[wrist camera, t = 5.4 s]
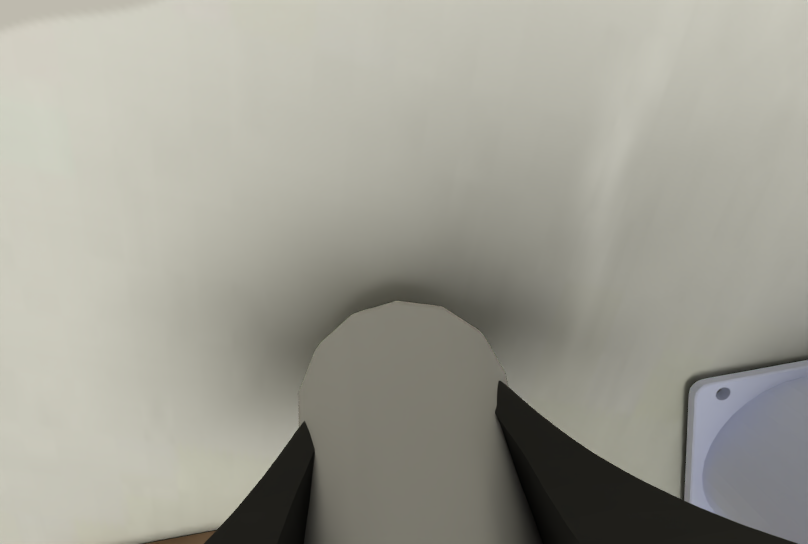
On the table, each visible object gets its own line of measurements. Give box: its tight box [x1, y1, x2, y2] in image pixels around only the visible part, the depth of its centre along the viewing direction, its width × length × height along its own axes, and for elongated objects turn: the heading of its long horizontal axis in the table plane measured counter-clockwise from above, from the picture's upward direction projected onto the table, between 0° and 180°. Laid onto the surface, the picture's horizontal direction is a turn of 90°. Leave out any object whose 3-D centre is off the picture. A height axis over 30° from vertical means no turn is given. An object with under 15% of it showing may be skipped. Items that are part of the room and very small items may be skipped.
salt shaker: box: [298, 301, 543, 544], centre depth 8 cm, size 6×6×13 cm
